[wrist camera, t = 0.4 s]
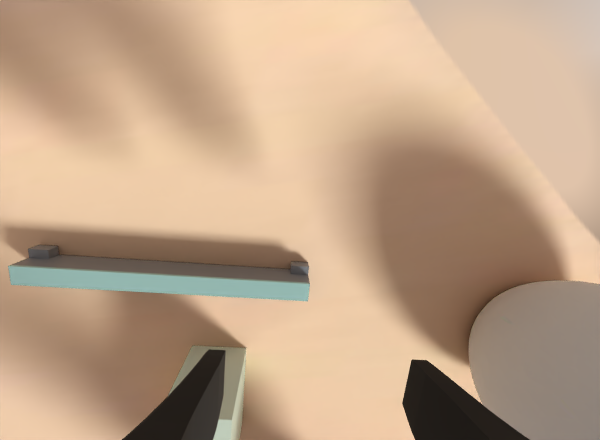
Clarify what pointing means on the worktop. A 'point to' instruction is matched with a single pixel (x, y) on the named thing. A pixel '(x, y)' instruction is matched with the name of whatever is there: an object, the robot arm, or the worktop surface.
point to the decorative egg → (541, 359)
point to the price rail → (159, 276)
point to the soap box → (233, 388)
